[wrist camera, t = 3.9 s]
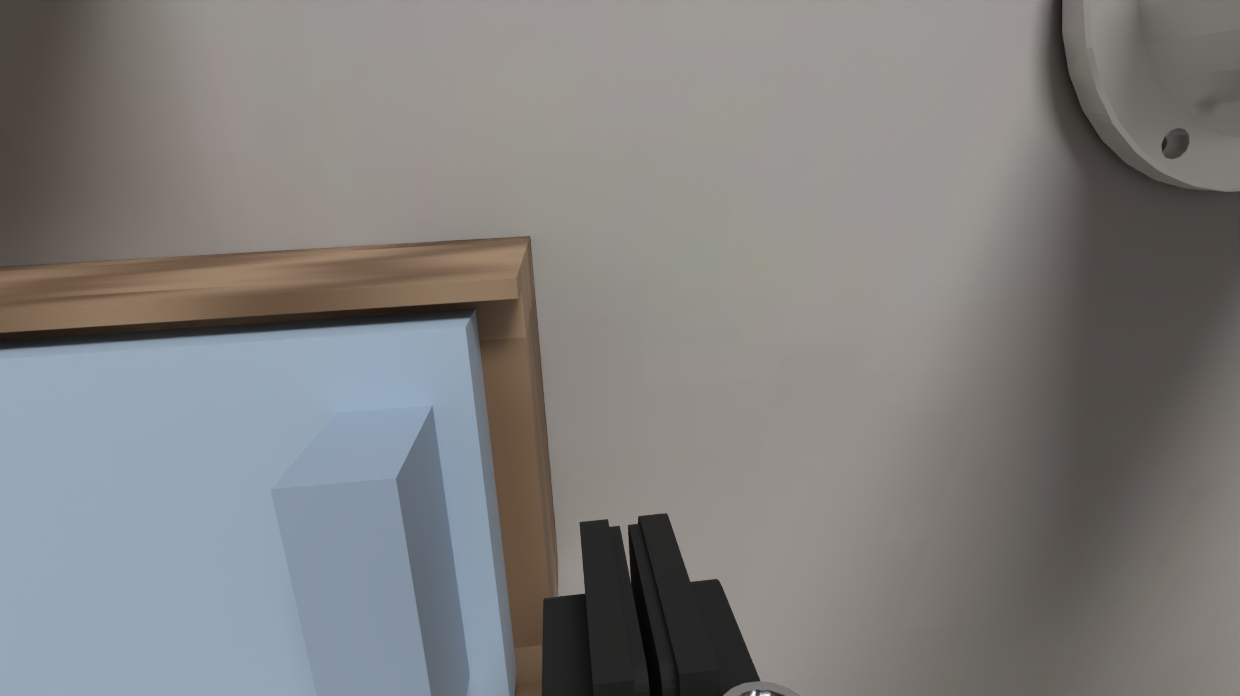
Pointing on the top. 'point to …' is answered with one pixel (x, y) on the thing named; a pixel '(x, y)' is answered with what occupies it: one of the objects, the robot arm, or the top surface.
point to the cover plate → (252, 512)
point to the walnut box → (338, 289)
